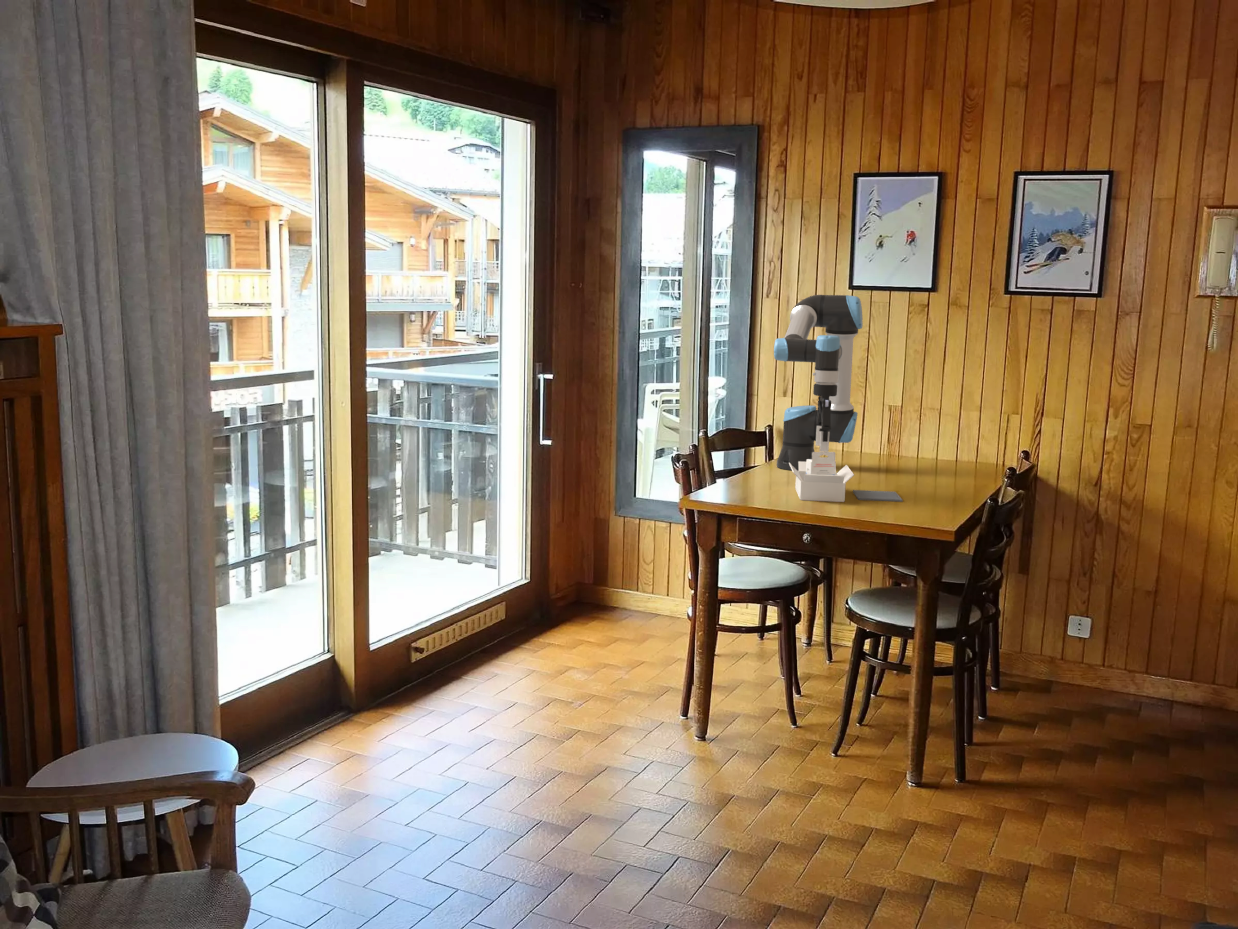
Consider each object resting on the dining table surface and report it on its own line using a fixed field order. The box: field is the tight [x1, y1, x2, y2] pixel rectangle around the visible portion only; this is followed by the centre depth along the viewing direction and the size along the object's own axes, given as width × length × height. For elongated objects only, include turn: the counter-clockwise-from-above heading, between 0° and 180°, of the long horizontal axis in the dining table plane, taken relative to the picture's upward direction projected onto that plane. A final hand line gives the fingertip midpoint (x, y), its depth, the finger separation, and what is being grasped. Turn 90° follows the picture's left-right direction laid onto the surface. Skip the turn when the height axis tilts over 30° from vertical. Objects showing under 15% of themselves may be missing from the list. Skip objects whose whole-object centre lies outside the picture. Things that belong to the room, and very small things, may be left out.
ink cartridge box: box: [806, 451, 837, 475], centre depth 366 cm, size 9×5×15 cm, turn 101°
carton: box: [789, 461, 855, 503], centre depth 366 cm, size 25×19×9 cm
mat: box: [852, 489, 904, 503], centre depth 367 cm, size 14×14×1 cm
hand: (821, 448), depth 364 cm, fingers open, 13 cm apart
